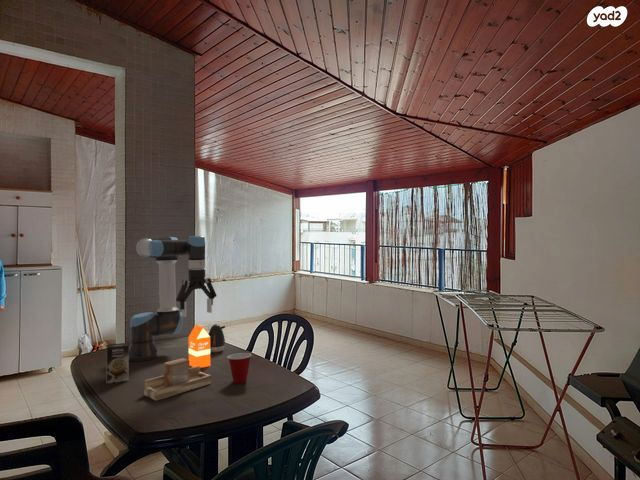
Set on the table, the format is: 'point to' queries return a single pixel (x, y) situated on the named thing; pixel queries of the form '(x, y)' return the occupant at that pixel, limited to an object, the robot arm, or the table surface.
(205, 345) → the orange juice
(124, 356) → the coffee box
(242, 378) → the plastic cup
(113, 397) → the table surface
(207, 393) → the table surface
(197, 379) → the wooden tray
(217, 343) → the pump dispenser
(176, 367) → the wooden block
